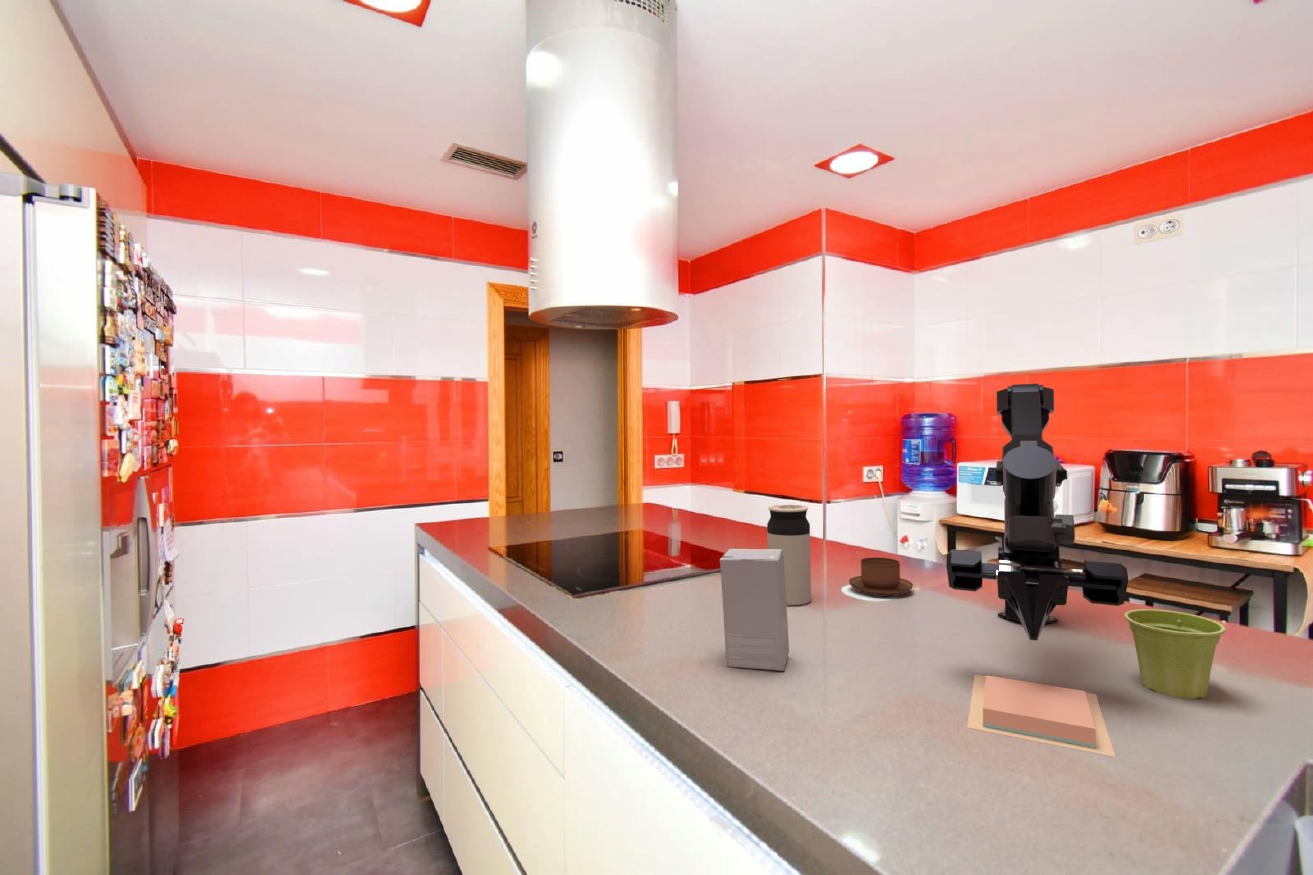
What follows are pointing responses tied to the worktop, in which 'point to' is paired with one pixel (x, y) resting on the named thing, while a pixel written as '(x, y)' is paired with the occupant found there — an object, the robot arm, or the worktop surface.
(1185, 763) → the worktop surface
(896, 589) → the cup and saucer
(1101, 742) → the cork mat
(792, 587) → the travel mug
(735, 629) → the skincare box
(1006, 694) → the tile
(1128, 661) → the worktop surface
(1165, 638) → the plant pot
